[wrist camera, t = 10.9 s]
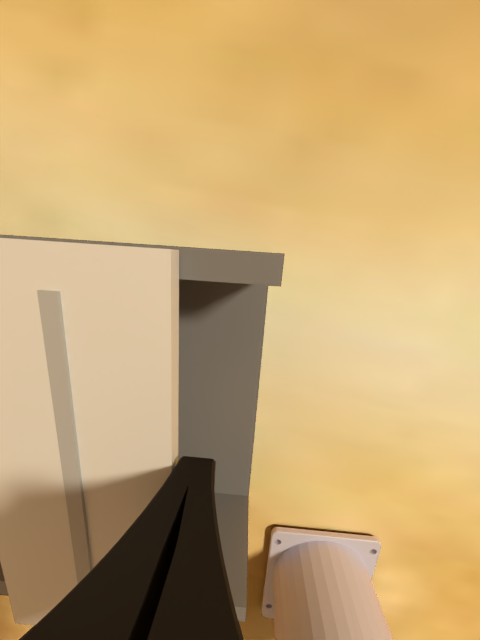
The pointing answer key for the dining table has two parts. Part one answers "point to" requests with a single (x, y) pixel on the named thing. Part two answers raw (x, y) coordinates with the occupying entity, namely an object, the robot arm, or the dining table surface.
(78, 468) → the lid
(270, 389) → the dining table surface
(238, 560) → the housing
